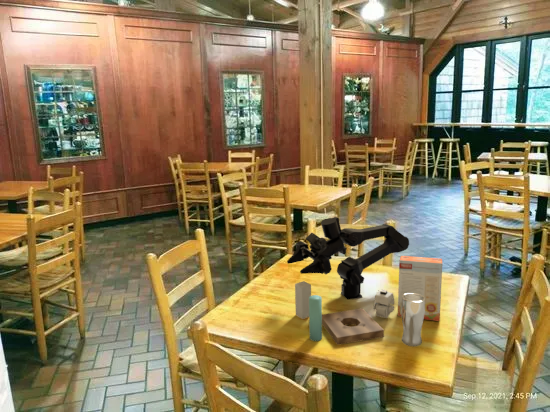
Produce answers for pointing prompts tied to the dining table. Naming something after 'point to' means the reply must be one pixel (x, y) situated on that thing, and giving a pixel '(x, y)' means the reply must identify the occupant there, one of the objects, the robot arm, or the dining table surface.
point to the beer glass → (412, 318)
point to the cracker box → (421, 282)
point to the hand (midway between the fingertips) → (293, 267)
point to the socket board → (346, 334)
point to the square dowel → (302, 299)
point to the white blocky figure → (383, 303)
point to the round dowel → (315, 317)
